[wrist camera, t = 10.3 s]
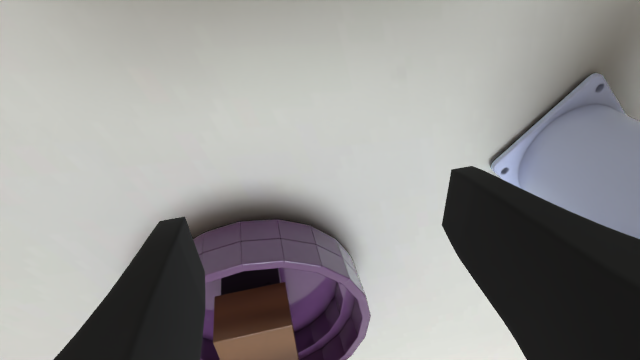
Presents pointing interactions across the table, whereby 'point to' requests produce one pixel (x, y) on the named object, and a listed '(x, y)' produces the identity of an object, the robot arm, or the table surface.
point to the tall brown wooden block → (254, 318)
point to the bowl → (291, 282)
